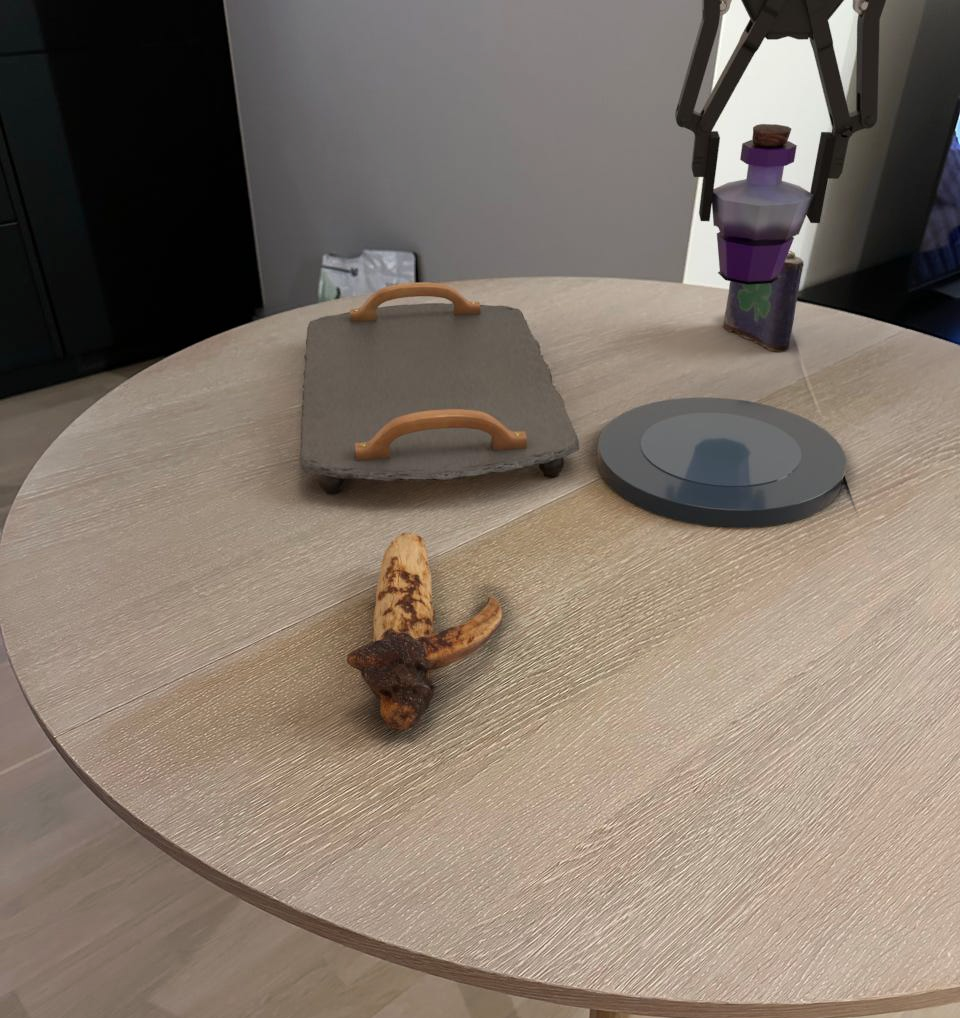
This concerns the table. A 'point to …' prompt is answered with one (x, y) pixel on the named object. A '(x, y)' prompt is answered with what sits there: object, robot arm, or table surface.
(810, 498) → the plate
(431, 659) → the bone fish hook
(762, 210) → the potion bottle
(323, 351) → the serving tray
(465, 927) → the table surface
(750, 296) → the flask
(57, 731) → the table surface
